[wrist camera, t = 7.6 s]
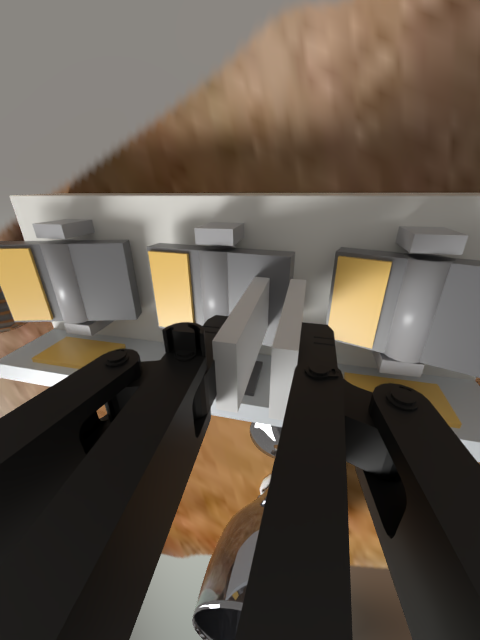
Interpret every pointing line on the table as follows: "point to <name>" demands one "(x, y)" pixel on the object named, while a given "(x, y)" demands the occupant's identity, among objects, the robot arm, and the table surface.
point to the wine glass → (233, 558)
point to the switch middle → (215, 281)
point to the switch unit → (267, 234)
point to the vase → (7, 316)
